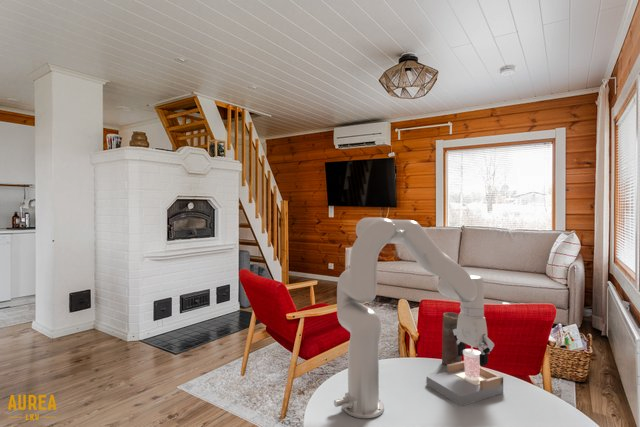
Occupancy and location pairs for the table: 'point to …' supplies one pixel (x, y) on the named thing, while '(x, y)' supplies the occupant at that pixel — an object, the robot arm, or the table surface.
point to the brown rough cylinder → (450, 339)
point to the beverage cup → (472, 363)
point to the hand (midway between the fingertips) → (472, 360)
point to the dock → (466, 384)
